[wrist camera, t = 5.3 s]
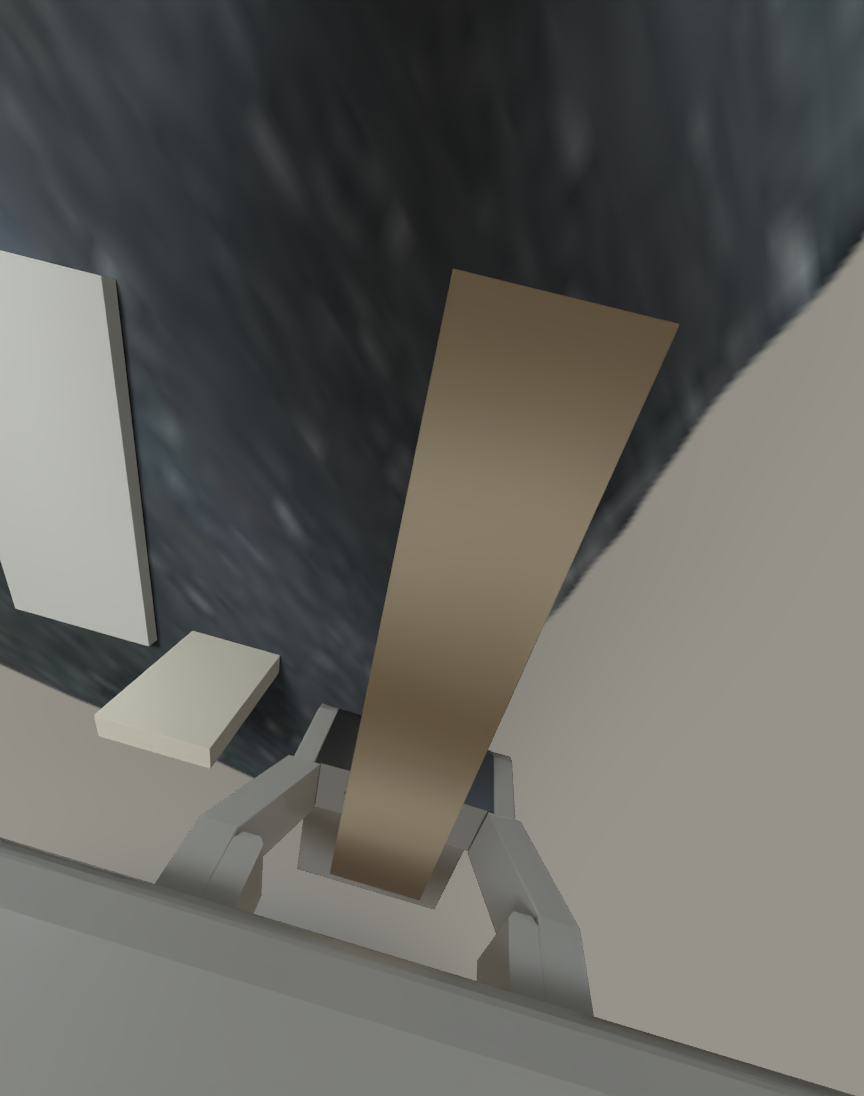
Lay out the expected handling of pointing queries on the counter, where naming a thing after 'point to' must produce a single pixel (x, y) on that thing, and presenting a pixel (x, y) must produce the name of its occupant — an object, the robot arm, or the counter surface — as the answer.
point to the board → (69, 454)
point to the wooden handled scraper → (479, 561)
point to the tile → (190, 699)
